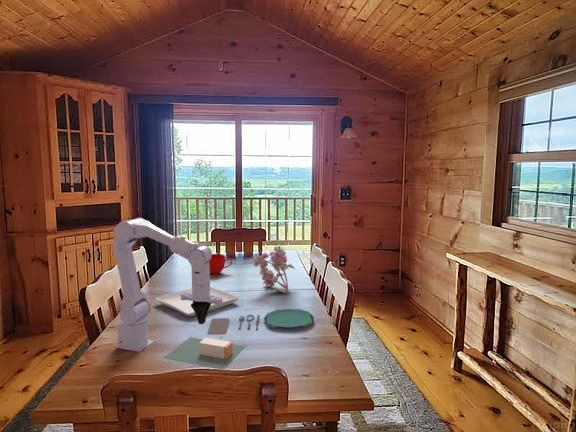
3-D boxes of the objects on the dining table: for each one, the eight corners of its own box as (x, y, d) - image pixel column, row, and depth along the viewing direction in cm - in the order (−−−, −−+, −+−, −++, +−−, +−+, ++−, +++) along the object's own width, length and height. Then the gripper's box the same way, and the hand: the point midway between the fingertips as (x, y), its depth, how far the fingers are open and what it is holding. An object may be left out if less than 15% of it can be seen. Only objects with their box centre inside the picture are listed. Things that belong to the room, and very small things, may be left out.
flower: (306, 281, 206) (285, 238, 206) (303, 290, 183) (280, 242, 184) (271, 296, 208) (251, 253, 208) (264, 308, 185) (242, 259, 186)
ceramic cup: (230, 276, 219) (230, 259, 218) (200, 276, 219) (199, 259, 218) (233, 270, 232) (233, 254, 231) (205, 270, 232) (204, 253, 231)
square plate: (240, 304, 177) (240, 296, 177) (188, 322, 157) (188, 313, 157) (205, 291, 196) (205, 283, 195) (154, 305, 176) (153, 297, 175)
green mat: (162, 358, 127) (162, 357, 127) (190, 338, 142) (190, 337, 142) (223, 370, 120) (223, 369, 120) (245, 347, 135) (245, 346, 135)
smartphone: (206, 334, 144) (211, 318, 159) (206, 337, 144) (211, 320, 159) (226, 334, 145) (230, 318, 159) (226, 336, 145) (230, 320, 160)
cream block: (199, 342, 129) (226, 347, 126) (205, 337, 133) (232, 342, 130) (199, 354, 130) (226, 359, 126) (206, 348, 133) (232, 353, 130)
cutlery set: (316, 332, 148) (316, 326, 148) (236, 334, 147) (236, 328, 147) (311, 312, 168) (311, 307, 168) (240, 314, 167) (240, 309, 167)
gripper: (226, 281, 130) (227, 321, 132) (188, 277, 134) (189, 315, 136) (216, 288, 123) (216, 329, 125) (176, 283, 128) (177, 323, 130)
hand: (202, 322), depth 130 cm, fingers closed
